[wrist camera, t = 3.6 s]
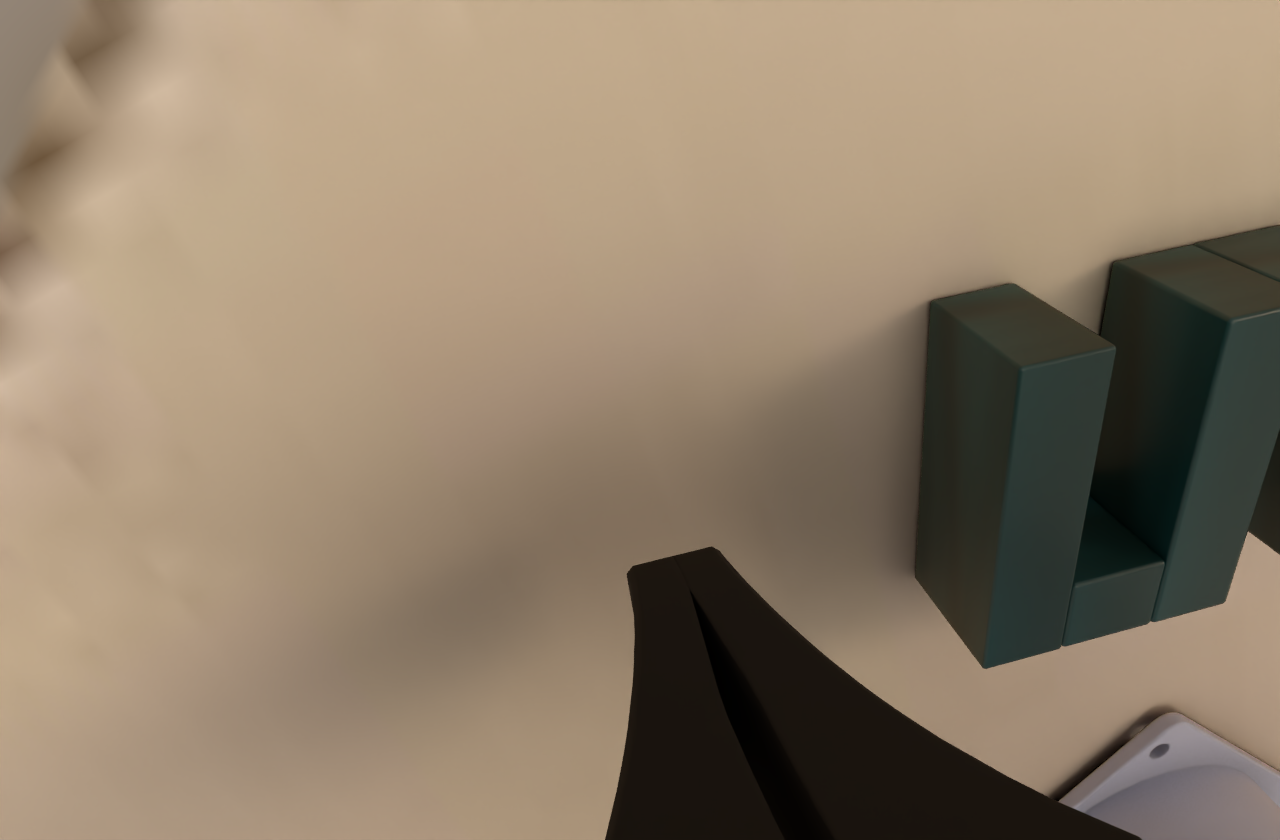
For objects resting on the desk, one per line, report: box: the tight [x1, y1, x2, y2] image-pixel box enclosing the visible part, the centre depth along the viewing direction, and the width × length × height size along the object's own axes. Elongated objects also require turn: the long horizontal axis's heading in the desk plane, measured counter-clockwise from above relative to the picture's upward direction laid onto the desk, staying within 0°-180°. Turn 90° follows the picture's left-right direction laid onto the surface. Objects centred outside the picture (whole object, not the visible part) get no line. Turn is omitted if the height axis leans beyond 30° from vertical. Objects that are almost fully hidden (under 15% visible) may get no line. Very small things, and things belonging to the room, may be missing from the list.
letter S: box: [915, 225, 1280, 669], centre depth 15 cm, size 8×6×2 cm
